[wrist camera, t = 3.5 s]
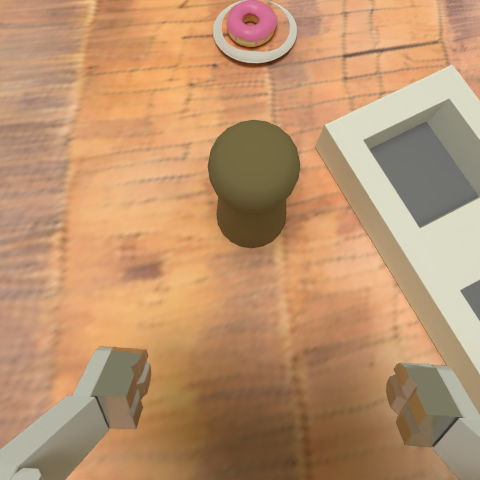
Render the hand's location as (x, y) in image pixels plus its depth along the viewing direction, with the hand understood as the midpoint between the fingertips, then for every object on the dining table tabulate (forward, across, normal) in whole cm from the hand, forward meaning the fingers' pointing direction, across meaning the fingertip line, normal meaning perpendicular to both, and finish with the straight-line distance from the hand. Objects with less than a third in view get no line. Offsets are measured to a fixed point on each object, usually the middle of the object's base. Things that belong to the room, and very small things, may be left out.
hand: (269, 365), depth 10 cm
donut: (+30, +1, -8) cm, 31 cm away
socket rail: (+16, -17, +5) cm, 23 cm away
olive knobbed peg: (+17, 0, +4) cm, 18 cm away
